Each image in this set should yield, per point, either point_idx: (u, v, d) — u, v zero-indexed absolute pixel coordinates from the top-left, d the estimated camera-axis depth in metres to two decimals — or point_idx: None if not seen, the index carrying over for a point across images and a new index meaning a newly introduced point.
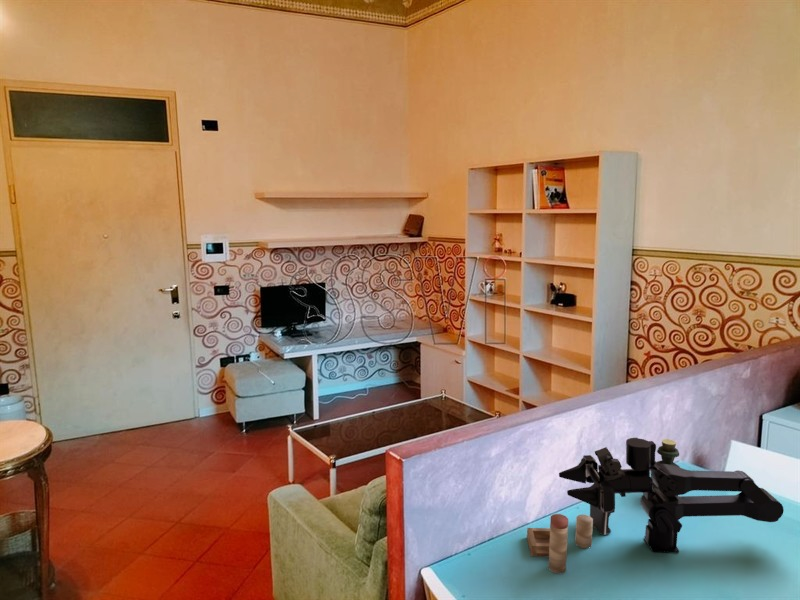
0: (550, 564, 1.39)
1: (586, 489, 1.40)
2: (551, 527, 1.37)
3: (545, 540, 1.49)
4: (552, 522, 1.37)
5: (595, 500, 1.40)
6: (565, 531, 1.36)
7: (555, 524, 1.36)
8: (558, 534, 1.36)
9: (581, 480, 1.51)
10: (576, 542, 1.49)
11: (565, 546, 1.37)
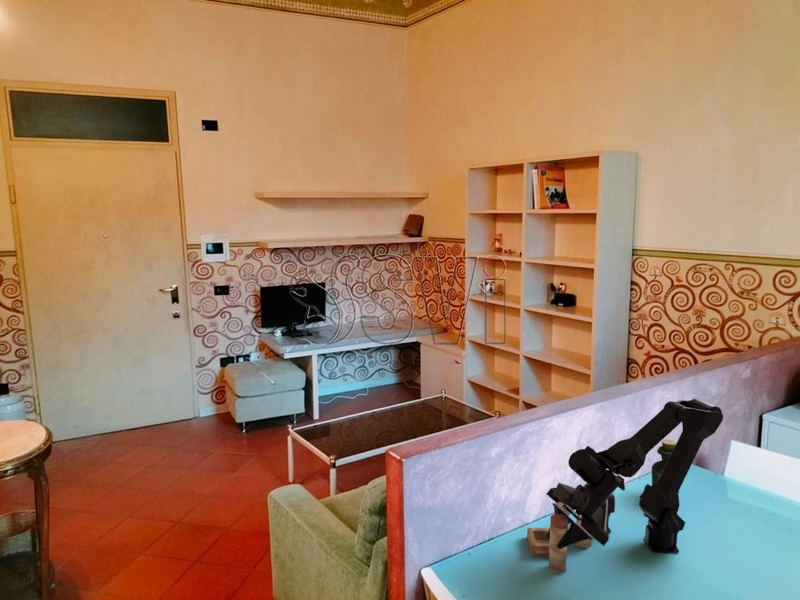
0: (550, 564, 1.39)
1: (569, 533, 1.35)
2: (551, 527, 1.37)
3: (545, 540, 1.49)
4: (552, 522, 1.37)
5: (583, 534, 1.35)
6: (565, 531, 1.36)
7: (555, 524, 1.36)
8: (558, 534, 1.36)
9: (568, 522, 1.41)
10: None
11: None
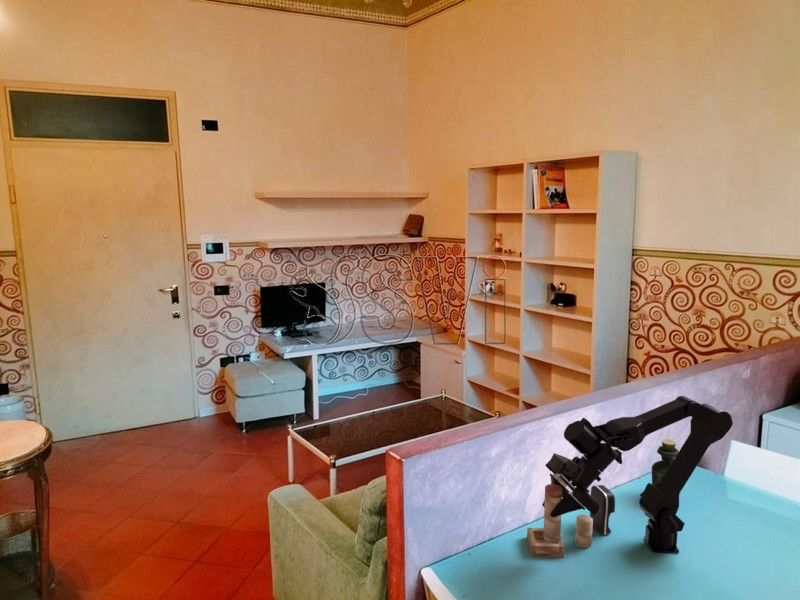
0: (544, 533, 1.41)
1: (562, 502, 1.37)
2: (545, 496, 1.40)
3: (545, 540, 1.49)
4: (546, 491, 1.39)
5: (576, 504, 1.37)
6: (559, 500, 1.38)
7: (549, 493, 1.38)
8: (551, 503, 1.38)
9: (564, 493, 1.43)
10: (576, 542, 1.49)
11: None
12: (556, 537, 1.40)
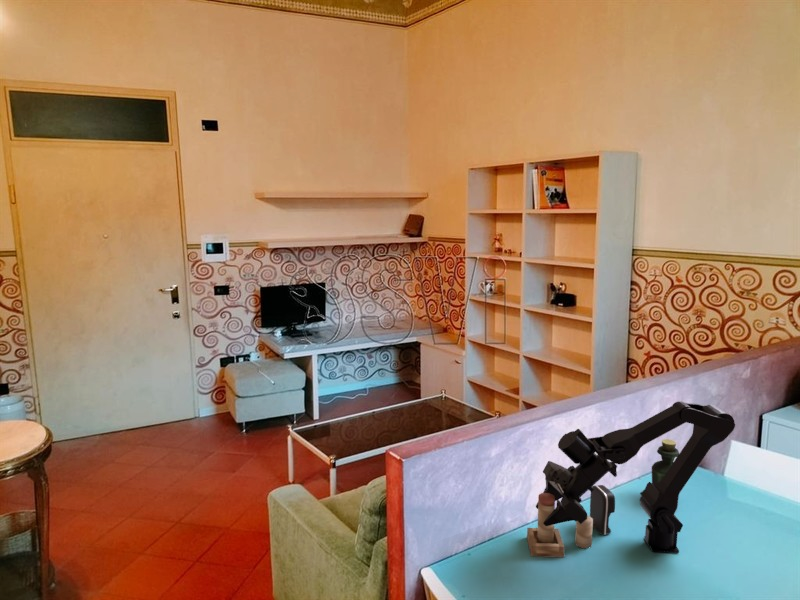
0: (537, 539, 1.48)
1: (554, 512, 1.41)
2: (538, 504, 1.46)
3: None
4: (539, 499, 1.45)
5: (568, 515, 1.40)
6: (550, 509, 1.44)
7: (541, 501, 1.45)
8: (543, 511, 1.45)
9: (558, 497, 1.50)
10: (576, 542, 1.49)
11: None
12: None
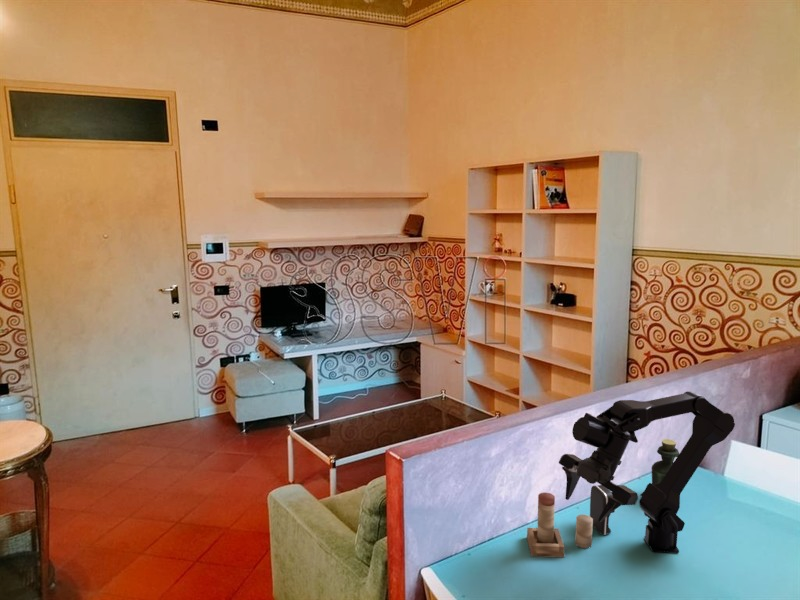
0: (537, 539, 1.48)
1: (609, 508, 1.36)
2: (538, 503, 1.46)
3: None
4: (538, 499, 1.46)
5: None
6: (550, 509, 1.44)
7: (540, 501, 1.45)
8: (543, 510, 1.45)
9: (578, 477, 1.46)
10: (576, 542, 1.49)
11: (551, 523, 1.45)
12: None
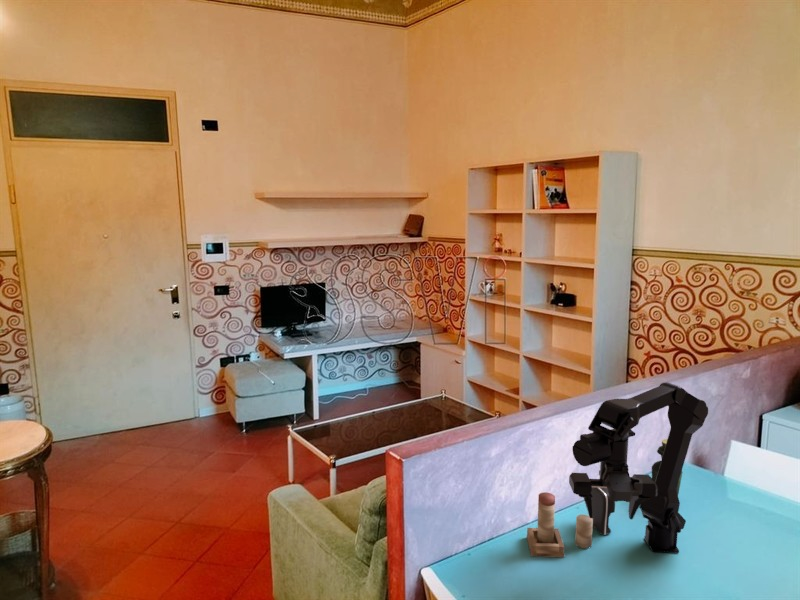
0: (537, 538, 1.48)
1: (638, 504, 1.35)
2: (538, 503, 1.46)
3: None
4: (539, 498, 1.46)
5: None
6: (550, 508, 1.44)
7: (541, 500, 1.45)
8: (543, 510, 1.45)
9: None
10: (576, 542, 1.49)
11: (551, 523, 1.45)
12: None
